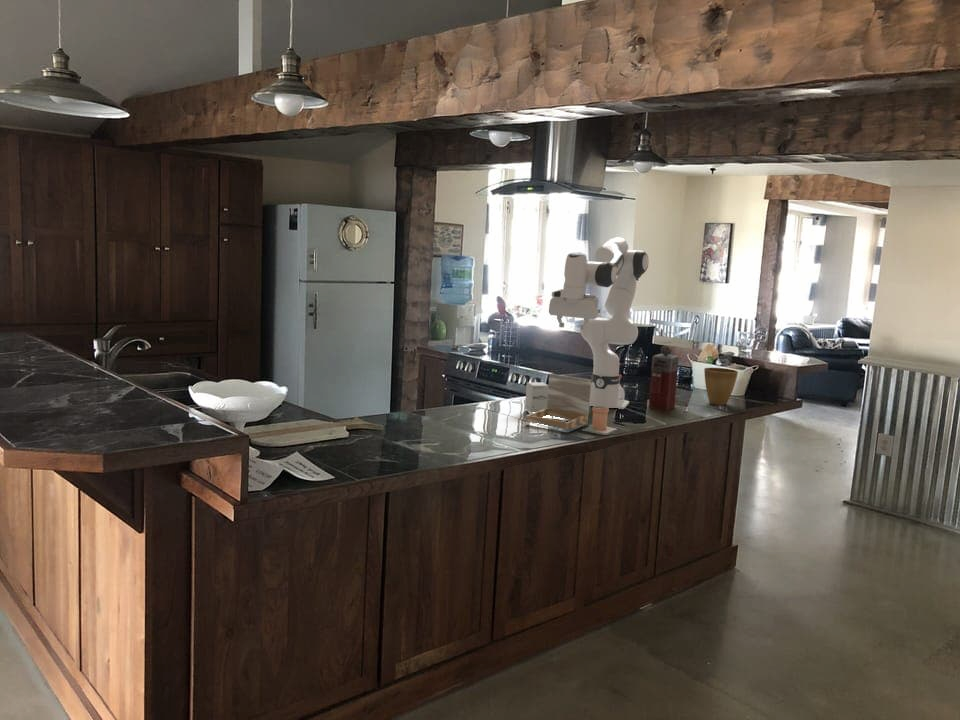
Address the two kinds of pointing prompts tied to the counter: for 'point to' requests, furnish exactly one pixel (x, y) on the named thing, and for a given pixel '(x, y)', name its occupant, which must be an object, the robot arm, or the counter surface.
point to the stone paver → (607, 430)
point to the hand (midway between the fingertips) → (572, 328)
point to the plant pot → (719, 384)
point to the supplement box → (536, 396)
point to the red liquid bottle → (663, 380)
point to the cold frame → (565, 402)
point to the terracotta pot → (599, 418)
